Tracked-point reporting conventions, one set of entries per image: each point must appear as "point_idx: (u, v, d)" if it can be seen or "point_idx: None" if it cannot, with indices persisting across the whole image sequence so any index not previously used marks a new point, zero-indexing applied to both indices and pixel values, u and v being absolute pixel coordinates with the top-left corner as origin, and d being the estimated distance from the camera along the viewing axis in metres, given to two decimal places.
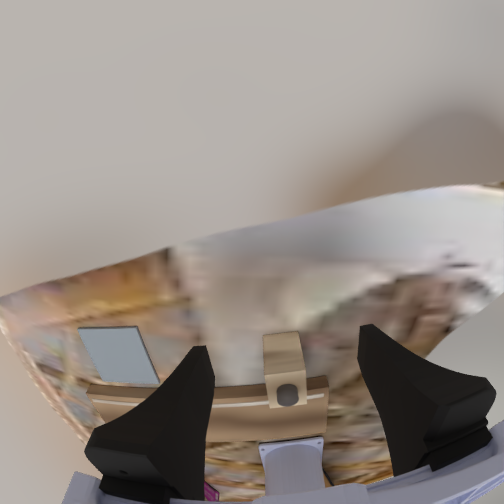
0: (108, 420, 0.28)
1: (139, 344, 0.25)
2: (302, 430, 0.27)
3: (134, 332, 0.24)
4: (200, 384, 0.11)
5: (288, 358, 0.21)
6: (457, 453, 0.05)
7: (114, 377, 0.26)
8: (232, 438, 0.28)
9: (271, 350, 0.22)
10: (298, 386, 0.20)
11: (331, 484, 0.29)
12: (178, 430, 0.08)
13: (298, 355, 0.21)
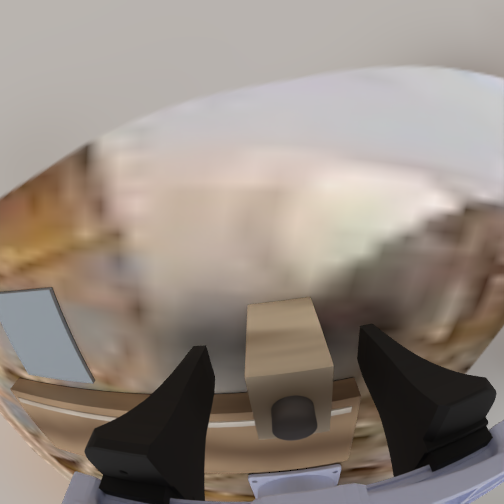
0: (43, 429, 0.17)
1: (56, 318, 0.14)
2: (313, 460, 0.16)
3: (48, 297, 0.14)
4: (200, 384, 0.11)
5: (294, 344, 0.11)
6: (457, 453, 0.05)
7: (39, 370, 0.16)
8: (207, 469, 0.17)
9: (262, 328, 0.12)
10: (316, 399, 0.10)
11: None
12: (178, 430, 0.08)
13: (314, 338, 0.11)
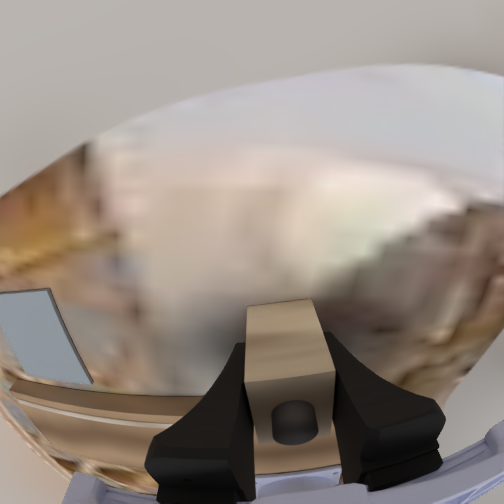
0: (42, 430, 0.17)
1: (54, 319, 0.14)
2: (313, 462, 0.16)
3: (45, 298, 0.13)
4: None
5: (295, 347, 0.10)
6: (398, 477, 0.05)
7: (37, 371, 0.16)
8: None
9: (262, 331, 0.12)
10: (317, 403, 0.09)
11: None
12: (240, 429, 0.08)
13: (316, 341, 0.10)
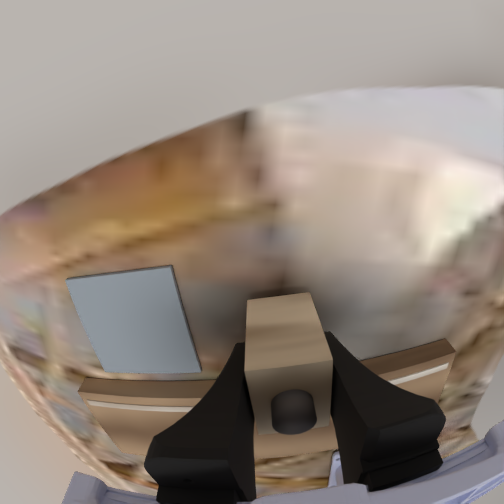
0: (113, 433, 0.18)
1: (173, 300, 0.15)
2: None
3: (166, 276, 0.14)
4: None
5: (294, 338, 0.11)
6: (398, 477, 0.05)
7: (124, 365, 0.17)
8: (307, 449, 0.18)
9: (261, 323, 0.12)
10: (315, 393, 0.10)
11: None
12: (240, 430, 0.08)
13: (314, 332, 0.11)
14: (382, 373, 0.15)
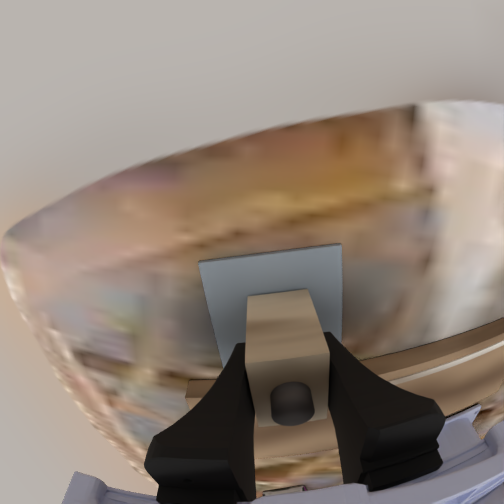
0: None
1: (336, 280, 0.14)
2: (482, 393, 0.17)
3: (335, 255, 0.14)
4: None
5: (292, 332, 0.11)
6: (398, 477, 0.05)
7: None
8: None
9: (261, 318, 0.12)
10: (313, 385, 0.10)
11: None
12: (240, 430, 0.08)
13: (311, 327, 0.11)
14: (483, 340, 0.15)
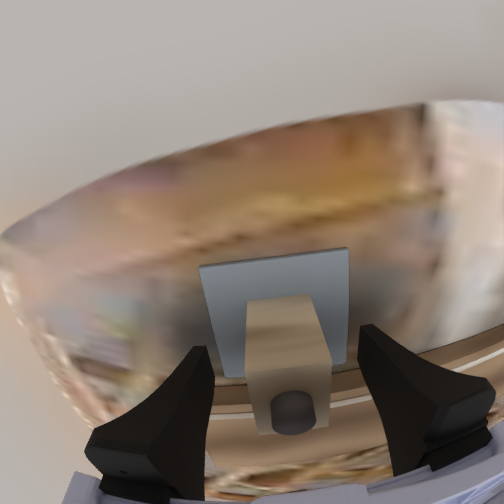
0: (216, 447, 0.17)
1: (342, 285, 0.14)
2: None
3: (342, 259, 0.13)
4: (200, 384, 0.11)
5: (293, 339, 0.11)
6: (457, 453, 0.05)
7: None
8: None
9: (261, 324, 0.12)
10: (315, 394, 0.10)
11: None
12: (178, 430, 0.08)
13: (313, 334, 0.11)
14: (489, 345, 0.14)
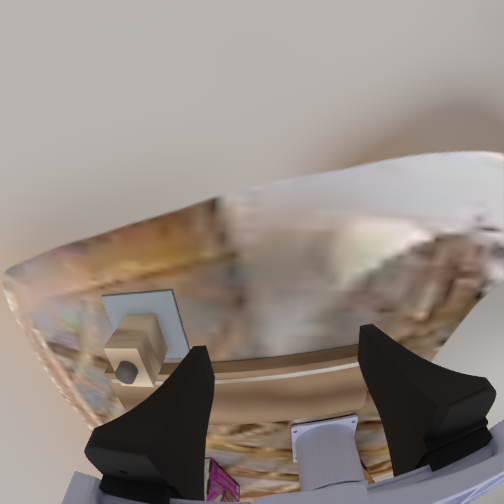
0: (127, 404, 0.27)
1: (173, 310, 0.24)
2: (341, 405, 0.26)
3: (168, 296, 0.23)
4: (200, 384, 0.11)
5: (130, 336, 0.21)
6: (457, 453, 0.05)
7: None
8: (266, 418, 0.27)
9: (123, 328, 0.22)
10: (137, 365, 0.20)
11: (364, 467, 0.28)
12: (178, 430, 0.08)
13: (139, 335, 0.21)
14: (312, 363, 0.24)
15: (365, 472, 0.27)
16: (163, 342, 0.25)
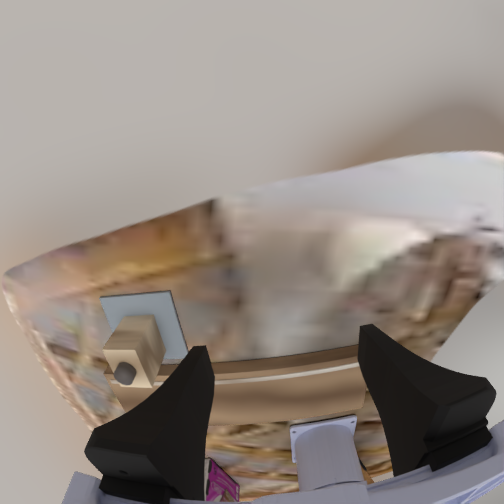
0: (127, 405, 0.27)
1: (171, 311, 0.24)
2: (339, 406, 0.26)
3: (166, 297, 0.23)
4: (200, 384, 0.11)
5: (128, 338, 0.21)
6: (457, 453, 0.05)
7: None
8: (265, 419, 0.27)
9: (121, 329, 0.22)
10: (135, 366, 0.20)
11: (363, 468, 0.28)
12: (178, 430, 0.08)
13: (137, 336, 0.21)
14: (310, 363, 0.24)
15: (364, 472, 0.27)
16: (161, 343, 0.25)
